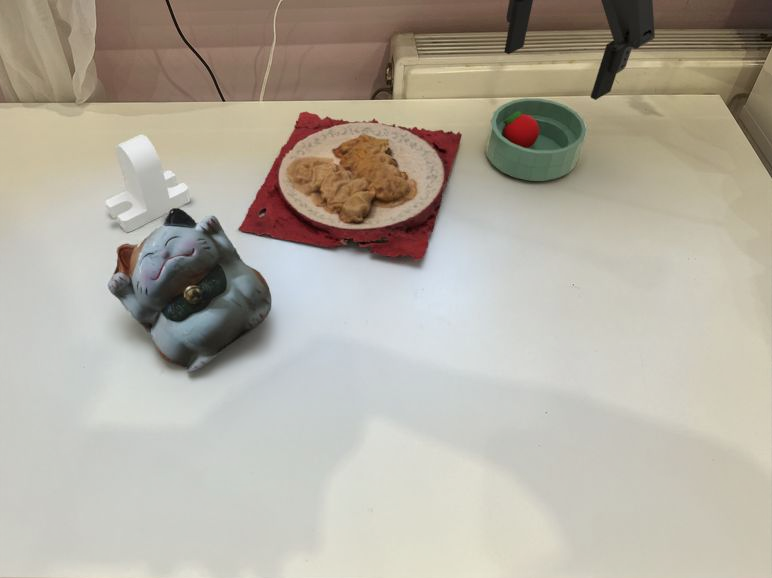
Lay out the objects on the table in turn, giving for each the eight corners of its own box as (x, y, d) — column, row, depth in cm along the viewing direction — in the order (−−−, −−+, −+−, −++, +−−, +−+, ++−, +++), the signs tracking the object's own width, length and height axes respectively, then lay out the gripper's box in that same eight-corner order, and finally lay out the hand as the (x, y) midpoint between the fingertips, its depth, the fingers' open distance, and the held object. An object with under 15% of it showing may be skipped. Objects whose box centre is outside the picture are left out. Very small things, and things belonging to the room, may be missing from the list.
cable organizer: (192, 200, 91) (178, 136, 84) (127, 233, 88) (106, 170, 80) (171, 181, 94) (156, 117, 86) (107, 212, 91) (85, 149, 83)
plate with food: (460, 144, 97) (464, 123, 94) (422, 266, 82) (424, 245, 79) (301, 120, 102) (300, 99, 100) (238, 230, 87) (234, 209, 85)
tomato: (544, 133, 95) (526, 103, 94) (546, 138, 91) (526, 107, 90) (514, 153, 97) (496, 124, 96) (515, 159, 93) (495, 128, 92)
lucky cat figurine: (165, 391, 73) (86, 288, 65) (159, 340, 83) (91, 246, 76) (288, 322, 72) (222, 211, 65) (267, 279, 83) (208, 179, 75)
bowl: (568, 130, 98) (577, 98, 94) (582, 185, 91) (594, 153, 87) (481, 128, 99) (487, 97, 95) (489, 183, 91) (496, 152, 87)
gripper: (486, -150, 73) (461, 42, 90) (695, -81, 60) (619, 128, 77) (535, -168, 75) (501, 23, 92) (745, -105, 63) (661, 102, 79)
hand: (555, 71), depth 85 cm, fingers open, 13 cm apart
